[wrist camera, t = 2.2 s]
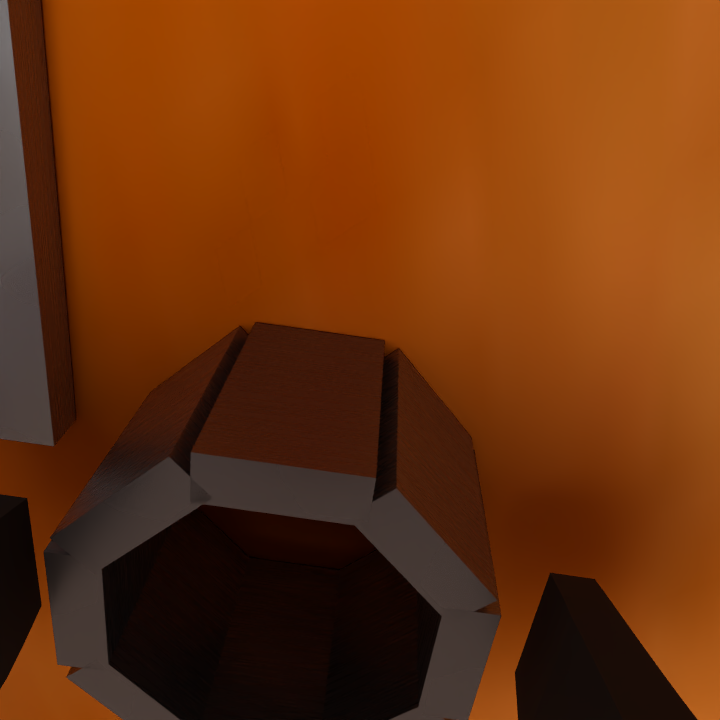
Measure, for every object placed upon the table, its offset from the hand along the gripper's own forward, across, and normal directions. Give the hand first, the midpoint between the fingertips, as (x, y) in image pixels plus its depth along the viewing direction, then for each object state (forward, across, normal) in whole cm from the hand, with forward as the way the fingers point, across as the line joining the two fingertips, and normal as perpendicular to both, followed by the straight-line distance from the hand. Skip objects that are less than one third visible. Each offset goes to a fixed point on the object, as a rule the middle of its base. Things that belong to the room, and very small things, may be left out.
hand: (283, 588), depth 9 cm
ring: (+3, 0, 0) cm, 3 cm away
